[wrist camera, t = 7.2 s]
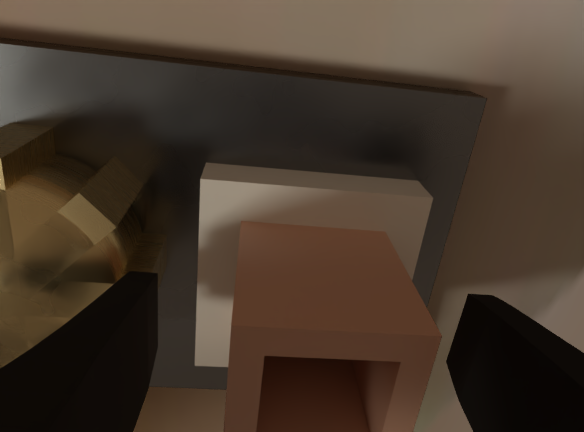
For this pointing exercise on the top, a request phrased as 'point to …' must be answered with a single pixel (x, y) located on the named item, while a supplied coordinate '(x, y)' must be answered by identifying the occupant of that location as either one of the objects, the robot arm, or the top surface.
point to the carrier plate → (184, 173)
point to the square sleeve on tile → (313, 299)
